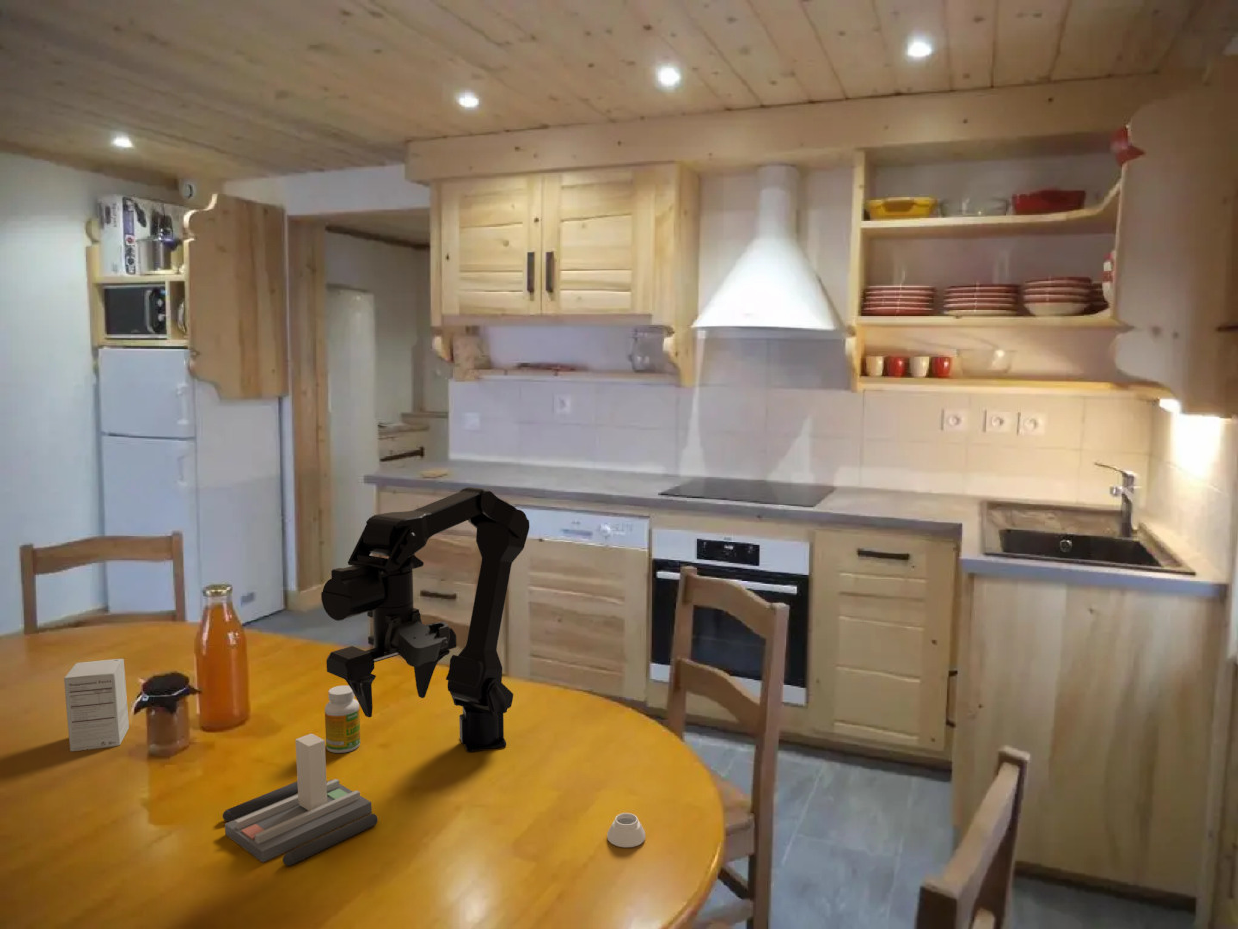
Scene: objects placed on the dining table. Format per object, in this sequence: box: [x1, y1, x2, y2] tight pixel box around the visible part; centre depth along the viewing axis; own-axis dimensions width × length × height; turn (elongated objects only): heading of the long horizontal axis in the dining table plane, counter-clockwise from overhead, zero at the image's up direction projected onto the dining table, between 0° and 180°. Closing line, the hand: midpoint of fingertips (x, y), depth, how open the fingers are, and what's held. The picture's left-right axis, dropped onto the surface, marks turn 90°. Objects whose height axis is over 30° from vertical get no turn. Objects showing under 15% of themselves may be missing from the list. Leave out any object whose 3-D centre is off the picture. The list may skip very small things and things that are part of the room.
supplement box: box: [63, 658, 130, 752], centre depth 143 cm, size 7×7×13 cm
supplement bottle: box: [324, 685, 361, 754], centre depth 141 cm, size 5×5×10 cm
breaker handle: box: [295, 733, 327, 811], centre depth 119 cm, size 2×3×10 cm
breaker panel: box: [224, 778, 373, 863], centre depth 118 cm, size 16×10×2 cm, turn 140°
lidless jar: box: [606, 812, 646, 848], centre depth 115 cm, size 5×3×5 cm
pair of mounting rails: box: [222, 781, 379, 867], centre depth 118 cm, size 14×18×2 cm
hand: (395, 706), depth 125 cm, fingers open, 9 cm apart
